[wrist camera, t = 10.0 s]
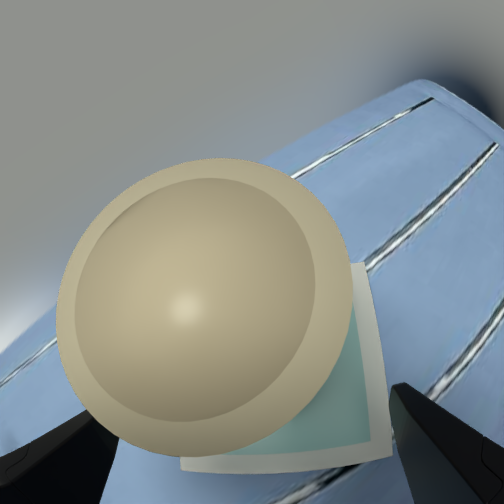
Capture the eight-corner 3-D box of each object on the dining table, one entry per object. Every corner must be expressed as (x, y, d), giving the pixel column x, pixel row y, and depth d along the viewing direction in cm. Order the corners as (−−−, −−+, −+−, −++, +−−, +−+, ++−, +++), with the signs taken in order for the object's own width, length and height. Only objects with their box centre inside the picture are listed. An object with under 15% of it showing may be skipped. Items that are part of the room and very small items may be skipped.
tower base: (389, 453, 15) (406, 464, 11) (186, 467, 16) (161, 478, 13) (361, 267, 21) (370, 240, 18) (183, 291, 23) (161, 269, 20)
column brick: (340, 351, 15) (406, 224, 4) (284, 434, 14) (212, 523, 3) (258, 304, 17) (172, 135, 7) (204, 380, 16) (25, 317, 5)
